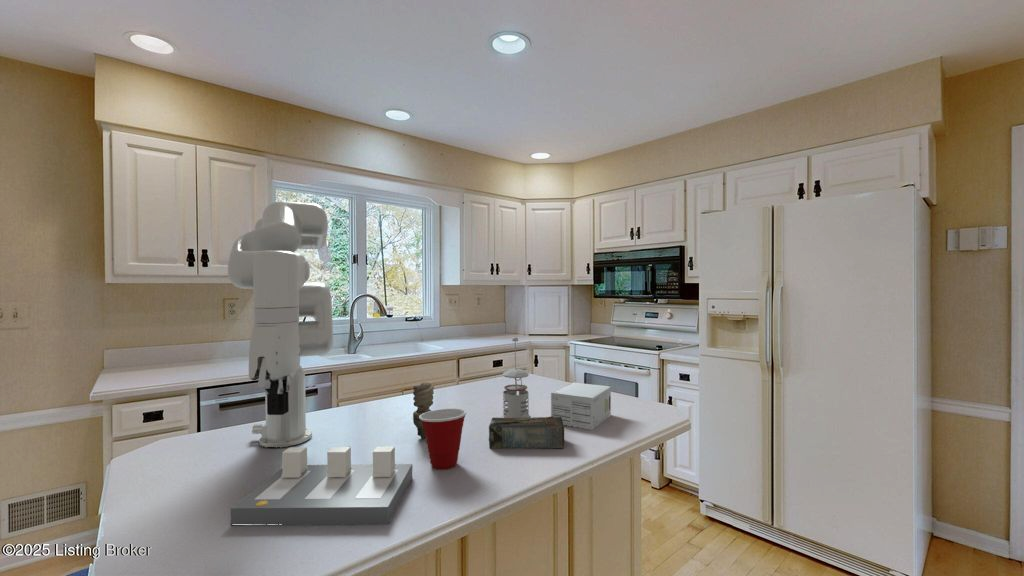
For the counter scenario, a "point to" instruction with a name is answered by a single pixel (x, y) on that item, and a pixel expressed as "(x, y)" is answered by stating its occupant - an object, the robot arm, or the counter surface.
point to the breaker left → (294, 462)
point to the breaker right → (383, 461)
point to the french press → (515, 394)
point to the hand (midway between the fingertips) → (278, 413)
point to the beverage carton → (526, 432)
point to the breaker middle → (339, 461)
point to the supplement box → (582, 404)
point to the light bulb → (422, 404)
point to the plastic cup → (443, 436)
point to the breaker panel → (325, 498)
